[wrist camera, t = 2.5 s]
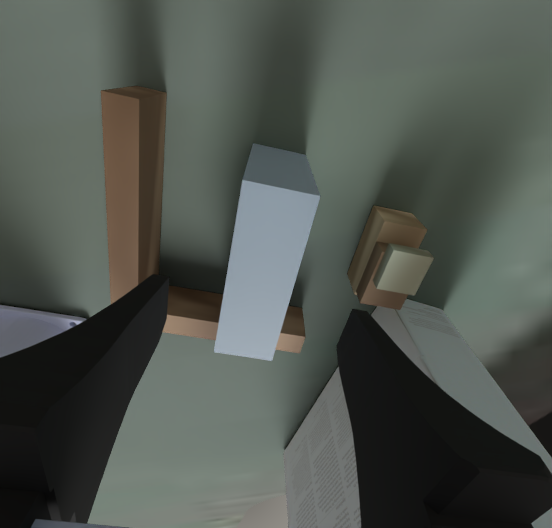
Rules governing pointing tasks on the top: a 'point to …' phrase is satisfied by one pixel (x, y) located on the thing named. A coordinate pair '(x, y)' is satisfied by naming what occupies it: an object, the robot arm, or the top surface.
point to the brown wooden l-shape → (154, 214)
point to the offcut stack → (389, 259)
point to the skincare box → (338, 432)
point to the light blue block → (266, 250)
